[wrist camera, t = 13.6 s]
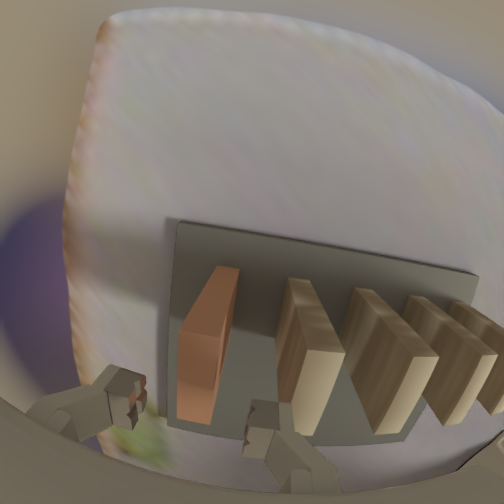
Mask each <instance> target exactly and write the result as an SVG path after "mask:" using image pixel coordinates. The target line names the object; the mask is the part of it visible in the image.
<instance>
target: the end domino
mask: <svg viewBox="0 0 504 504" xmlns="http://www.w3.org/2000/svg"><path fill="white" fill-rule="evenodd" d="M239 271H240V269H237V268H230V267H224V266H218V265H217V267H216V268H215V270H214V272H213V273H212V275H211V277H210V278H209V280H208V282H207V283H206V285H205V287H204V288H203V290H202V292H201V293H200V295H199V297H198V298H197V300H196V302H195V303H194V305H193V307H192V308H191V310H190V312H189V314H188V315H187V317H186V319H185V320H184V322H183V324H182V325H181V327H180V329H179V336H178V362H177V418H178V419H183V420H187V421H192V422H197V423H202V424H207V425H210V423H211V418H212V414H213V409H214V405H215V400H216V396H217V392H218V387H219V383H220V378H221V374H222V369H223V365H224V360H225V356H226V351H227V347H228V342H229V338H230V334H231V328H232V320H233V313H234V306H235V299H236V292H237V285H238V278H239Z"/></svg>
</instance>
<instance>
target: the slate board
mask: <svg viewBox="0 0 504 504" xmlns="http://www.w3.org/2000/svg"><path fill="white" fill-rule="evenodd" d="M217 265H218V266H224V267H230V268H237V269H240V271H239V278H238V285H237V292H236V299H235V306H234V313H233V320H232V328H231V334H230V338H229V342H228V347H227V351H226V356H225V360H224V365H223V369H222V374H221V378H220V383H219V387H218V392H217V396H216V400H215V405H214V409H213V414H212V418H211V423H210V425H207V424H202V423H197V422H192V421H187V420H183V419H178V418H177V362H178V336H179V329H180V327H181V325H182V324H183V322H184V320H185V319H186V317H187V315H188V314H189V312H190V310H191V308H192V307H193V305H194V303H195V302H196V300H197V298H198V297H199V295H200V293H201V292H202V290H203V288H204V287H205V285H206V283H207V282H208V280H209V278H210V277H211V275H212V273H213V272H214V270H215V268H216V267H217ZM287 277H295V278H301V279H307V280H310V282H311V284H312V286H313V288H314V290H315V292H316V294H317V296H318V298H319V300H320V302H321V304H322V306H323V308H324V310H325V312H326V314H327V316H328V318H329V320H330V322H331V324H332V326H333V328H334V330H335V332H336V334H337V336H338V338H339V335H340V331H341V328H342V325H343V321H344V318H345V315H346V311H347V308H348V304H349V300H350V297H351V293H352V289H353V287H360V288H367V289H372V290H373V291H374V292H376V293H377V294H378V295H379V296H380V297H381V298H382V299H383V300H384V301H385V302H386V303H387V304H388V305H389V306H390V307H391V308H392V309H393V310H394V311H395V312H396V313H397V314H398V315H399V316H400V317H401V316H402V313H403V310H404V307H405V304H406V301H407V297H408V294H409V295H416V296H424V297H425V298H426V299H428V300H429V301H430V302H432V303H433V304H434V305H436V306H437V307H439V308H440V309H441V310H443V311H444V312H445V313H446V314H447V313H448V310H449V307H450V304H451V301H452V300H454V301H462V302H465V303H466V304H468V305H469V306H471V303H472V300H473V297H474V294H475V290H476V287H477V284H478V280H479V276H477V275H475V274H472V273H467V272H463V271H458V270H453V269H448V268H443V267H438V266H433V265H428V264H423V263H418V262H413V261H408V260H403V259H398V258H392V257H387V256H382V255H377V254H371V253H366V252H360V251H355V250H350V249H344V248H339V247H333V246H327V245H322V244H316V243H311V242H305V241H299V240H293V239H288V238H282V237H276V236H270V235H264V234H258V233H252V232H246V231H240V230H234V229H227V228H221V227H215V226H209V225H202V224H196V223H189V222H183V221H181V222H179V223H178V225H177V234H176V243H175V253H174V263H173V274H172V286H171V300H170V315H169V335H168V364H167V426H170V427H174V428H178V429H183V430H187V431H192V432H196V433H201V434H206V435H212V436H217V437H223V438H230V439H236V440H244V438H245V437H244V430H245V423H246V418H247V414H248V413H249V406H250V402H251V398H252V399H259V400H267V401H276V402H278V386H277V370H276V355H275V340H274V338H275V333H276V329H277V324H278V319H279V315H280V310H281V305H282V301H283V296H284V291H285V286H286V281H287ZM426 405H427V401H426V400H425V399H424V397H423V396H422V394H421V396H420V398H419V399H418V401H417V403H416V405H415V407H414V408H413V410H412V412H411V414H410V415H409V417H408V419H407V420H406V422H405V424H404V425H403V427H402V429H401V430H400V432H399V433H392V434H380V435H374V434H373V431H372V429H371V426H370V424H369V421H368V419H367V416H366V414H365V412H364V409H363V407H362V404H361V402H360V400H359V397H358V395H357V392H356V390H355V388H354V385H353V383H352V381H351V378H350V376H349V374H348V371H347V369H346V367H345V364H344V362H342V365H341V368H340V371H339V373H338V376H337V379H336V381H335V384H334V386H333V389H332V391H331V394H330V397H329V399H328V401H327V404H326V406H325V409H324V411H323V413H322V416H321V418H320V420H319V423H318V425H317V427H316V429H315V432H314V434H313V436H304V435H302V436H303V437H304V438H305V439H306V440H307V441H308V442H309V443H310V444H311V445H312V446H353V445H371V444H383V443H393V442H401V441H404V440H405V439H406V437H407V436H408V434H409V433H410V431H411V429H412V428H413V426H414V425H415V423H416V421H417V420H418V418H419V417H420V415H421V413H422V411H423V410H424V408H425V406H426Z"/></svg>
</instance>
